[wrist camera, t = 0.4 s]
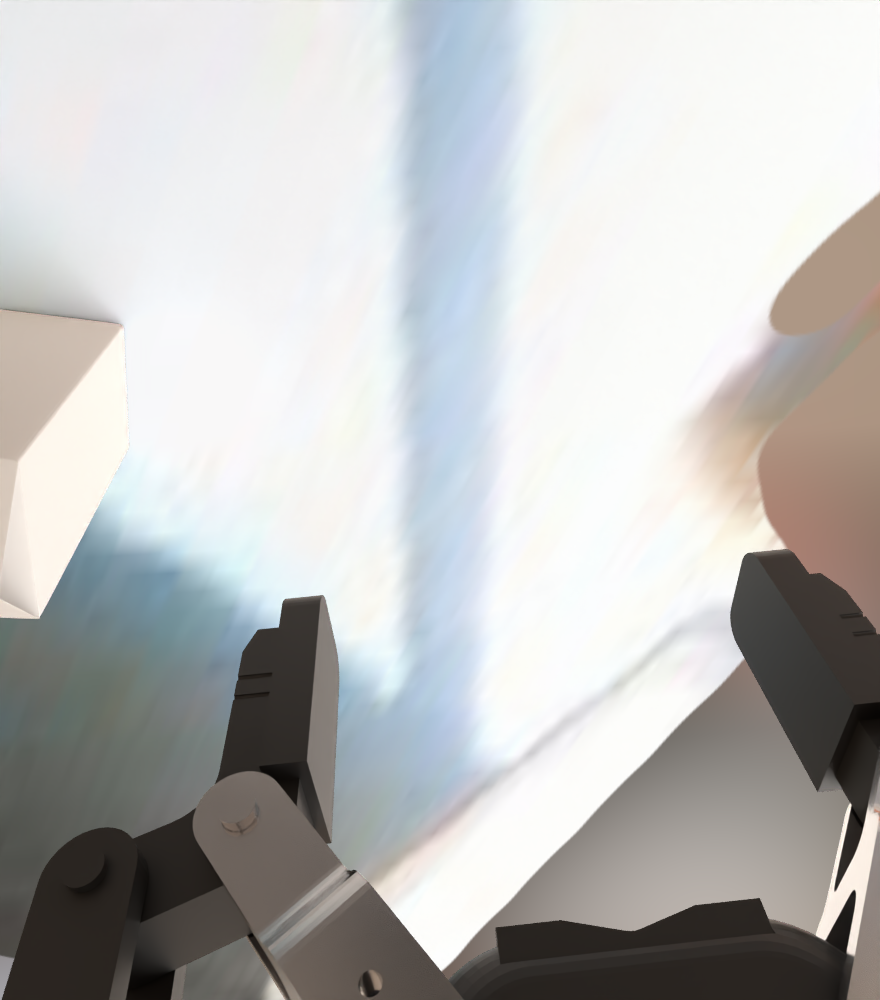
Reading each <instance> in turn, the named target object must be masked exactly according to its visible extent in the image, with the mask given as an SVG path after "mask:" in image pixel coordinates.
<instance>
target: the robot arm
mask: <svg viewBox="0 0 880 1000" xmlns="http://www.w3.org/2000/svg"><path fill="white" fill-rule="evenodd" d="M862 613H863V612H862V611H861V610H860V608H859V607H858V606H857V605H856V603H855V602H854V601H853V599H852V598H851V597H850V595H849V594H848V593H847V592H846V590H844V589H843V588H841V587H840V586H838V585H837V584H835V583H834V582H833V581H831V580H830V579H828V578H827V577H825V576H824V575H823V574H821V573H817V574H809V573H808V572H807V571H806V569H805V568H804V566H803V565H802V564H801V562H800V561H799V559H798V558H797V557H796V555H795V554H794V553H793V552H792V551H790V550H788V549H783V550H773V551H763V552H753V553H747V554H746V555H745V556H744V558H743V560H742V564H741V568H740V573H739V577H738V581H737V585H736V590H735V594H734V598H733V603H732V607H731V614H730V619H731V627H732V632H733V635H734V638H735V641H736V643H737V645H738V647H739V649H740V650H741V652H742V654H743V656H744V658H745V660H746V661H747V663H748V665H749V667H750V669H751V670H752V672H753V674H754V676H755V678H756V680H757V682H758V683H759V685H760V687H761V689H762V691H763V692H764V694H765V696H766V698H767V700H768V702H769V704H770V705H771V707H772V709H773V711H774V713H775V715H776V716H777V718H778V720H779V722H780V724H781V726H782V727H783V729H784V731H785V733H786V735H787V737H788V738H789V740H790V742H791V744H792V746H793V748H794V749H795V751H796V753H797V755H798V757H799V759H800V760H801V762H802V764H803V766H804V768H805V770H806V771H807V773H808V775H809V777H810V779H811V781H812V782H813V784H814V786H815V788H816V790H817V792H824V791H833V790H842V789H843V791H844V793H845V795H846V796H847V798H848V800H849V801H850V804H849V806H848V808H847V811H846V814H845V819H844V823H843V828H842V833H841V838H840V842H839V846H838V851H837V855H836V860H835V865H834V870H833V874H832V879H831V883H830V888H829V892H828V897H827V901H826V905H825V908H824V912H823V915H822V918H821V920H820V923H819V926H818V929H817V932H816V935H814V934H812V933H810V932H808V931H805V930H803V929H800V928H798V927H795V926H793V925H790V924H787V923H783V922H780V921H776V920H771V919H768V917H767V915H766V912H765V910H764V907H763V905H762V903H761V901H760V898H757V899H748V900H738V901H729V902H721V903H711V904H702V905H695V906H692V907H690V908H688V909H685V910H683V911H681V912H679V913H676V914H674V915H672V916H669V917H667V918H665V919H662V920H660V921H658V922H656V923H654V924H651V925H649V926H646V927H644V928H642V929H639V930H636V931H622V930H617V929H610V928H604V927H598V926H592V925H586V924H580V923H574V922H568V921H562V920H559V921H552V922H551V921H550V922H541V923H533V924H524V925H515V926H506V927H497V928H496V945H497V947H495V948H493V949H491V950H489V951H487V952H484V953H482V954H481V955H479V956H477V957H476V958H474V959H473V960H471V961H469V962H468V963H467V964H466V965H464V966H463V967H462V968H461V969H459V970H458V971H457V972H456V973H455V974H454V975H453V976H452V977H451V978H450V979H449V980H448V979H447V978H446V977H445V976H444V974H443V973H442V972H441V971H440V970H439V968H438V967H437V966H436V965H435V963H434V962H433V961H432V960H431V958H430V957H429V956H428V955H427V954H426V952H425V951H424V950H423V949H422V947H421V946H420V945H419V944H418V942H417V941H416V940H415V939H414V938H413V936H412V935H411V934H410V933H409V931H408V930H407V929H406V928H405V926H404V925H403V924H402V923H401V922H400V920H399V919H398V918H397V917H396V915H395V914H394V913H393V912H392V910H391V909H390V908H389V907H388V906H387V904H386V903H385V902H384V901H383V899H382V898H381V897H380V896H379V894H378V893H377V892H376V891H375V890H374V888H373V887H372V886H371V885H370V884H369V882H368V881H367V880H366V879H365V878H364V877H363V876H362V875H361V874H360V873H359V872H357V871H356V870H352V871H350V870H348V869H347V868H346V867H345V866H344V865H343V864H342V863H341V861H340V860H339V859H338V858H337V856H336V855H335V854H334V853H333V851H332V850H331V849H330V848H329V846H328V845H327V843H331V841H332V820H333V799H334V779H335V758H336V738H337V717H338V697H339V664H338V655H337V649H336V644H335V640H334V636H333V631H332V627H331V622H330V618H329V613H328V609H327V604H326V600H325V597H324V596H323V595H320V596H310V597H301V598H291V599H285V600H284V601H283V604H282V610H281V617H280V624H279V628H270V629H260V630H257V632H256V633H255V635H254V636H253V638H252V639H251V641H250V642H249V643H248V645H247V646H246V648H245V649H244V651H243V653H242V658H241V663H240V668H239V673H238V681H237V684H236V689H235V694H234V696H235V700H233V704H232V709H231V715H230V720H229V725H228V730H227V735H226V740H225V746H224V751H223V756H222V761H221V766H220V771H219V775H218V778H217V780H216V783H215V785H214V786H212V787H211V788H210V789H209V790H208V791H207V792H206V793H205V795H204V796H203V797H202V799H201V800H200V802H199V804H198V805H197V807H196V808H195V809H194V810H192V811H191V812H190V813H188V814H187V815H185V816H184V817H182V818H180V819H178V820H176V821H174V822H172V823H170V824H167V825H165V826H162V827H160V828H158V829H155V830H153V831H150V832H148V833H146V834H143V835H141V836H138V837H136V838H134V839H132V838H131V837H130V836H129V835H128V834H127V833H126V832H124V831H122V830H120V829H116V828H108V827H107V828H98V829H94V830H90V831H88V832H85V833H83V834H81V835H79V836H77V837H75V838H73V839H72V840H71V841H69V842H68V843H66V844H65V845H64V846H63V847H62V848H60V849H59V850H58V851H57V852H56V854H55V855H54V856H53V857H52V858H51V859H50V861H49V862H48V863H47V865H46V867H45V868H44V870H43V872H42V874H41V877H40V879H39V882H38V885H37V888H36V891H35V894H34V898H33V901H32V904H31V907H30V910H29V914H28V917H27V920H26V923H25V927H24V930H23V933H22V936H21V939H20V943H19V946H18V949H17V952H16V955H15V959H14V962H13V965H12V968H11V972H10V975H9V978H8V981H7V985H6V988H5V991H4V994H3V997H2V1000H182V998H183V990H184V983H185V975H186V968H187V964H188V963H190V962H192V961H194V960H196V959H199V958H201V957H203V956H205V955H207V954H209V953H211V952H213V951H215V950H218V949H220V948H222V947H224V946H226V945H228V944H230V943H232V942H234V941H236V940H239V939H241V938H243V937H245V936H246V938H247V939H248V941H249V942H250V944H251V946H252V947H253V949H254V950H255V952H256V954H257V955H258V957H259V958H260V960H261V962H262V963H263V965H264V966H265V968H266V970H267V971H268V973H269V974H270V976H271V978H272V979H273V981H274V982H275V984H276V986H277V987H278V989H279V990H280V992H281V994H282V995H283V997H284V998H285V1000H880V634H876V629H875V628H874V627H873V625H872V624H871V623H870V621H869V620H868V619H867V617H863V614H862Z"/></svg>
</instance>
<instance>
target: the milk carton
mask: <svg viewBox="0 0 880 1000" xmlns="http://www.w3.org/2000/svg"><path fill="white" fill-rule="evenodd" d="M128 448H129V427H128V406H127V385H126V364H125V343H124V327H123V326H122V325H120V324H115V323H108V322H100V321H92V320H84V319H76V318H67V317H59V316H51V315H43V314H35V313H26V312H18V311H10V310H2V309H0V617H3V618H29V619H39V618H40V615H41V614H42V612H43V610H44V608H45V607H46V605H47V603H48V601H49V599H50V597H51V595H52V593H53V592H54V590H55V588H56V586H57V584H58V582H59V580H60V578H61V576H62V574H63V572H64V571H65V569H66V567H67V565H68V563H69V561H70V559H71V557H72V555H73V553H74V551H75V550H76V548H77V546H78V544H79V542H80V540H81V538H82V536H83V534H84V532H85V530H86V529H87V527H88V525H89V523H90V521H91V519H92V517H93V515H94V513H95V511H96V509H97V508H98V506H99V504H100V502H101V500H102V498H103V496H104V494H105V492H106V490H107V488H108V487H109V485H110V483H111V481H112V479H113V477H114V475H115V473H116V471H117V469H118V467H119V466H120V464H121V462H122V460H123V458H124V456H125V454H126V452H127V450H128Z"/></svg>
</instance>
